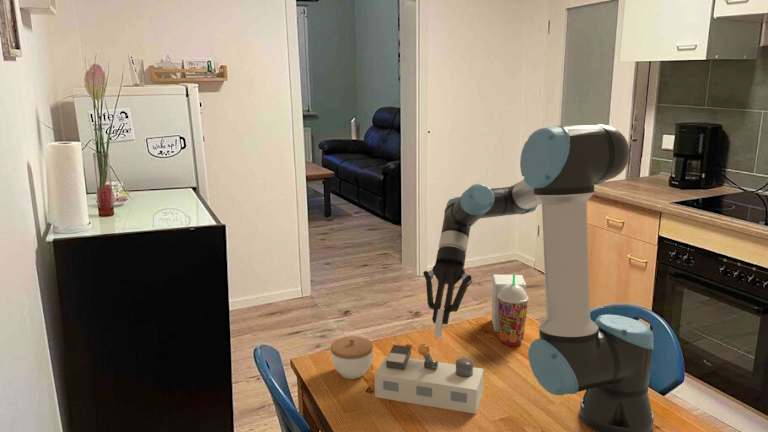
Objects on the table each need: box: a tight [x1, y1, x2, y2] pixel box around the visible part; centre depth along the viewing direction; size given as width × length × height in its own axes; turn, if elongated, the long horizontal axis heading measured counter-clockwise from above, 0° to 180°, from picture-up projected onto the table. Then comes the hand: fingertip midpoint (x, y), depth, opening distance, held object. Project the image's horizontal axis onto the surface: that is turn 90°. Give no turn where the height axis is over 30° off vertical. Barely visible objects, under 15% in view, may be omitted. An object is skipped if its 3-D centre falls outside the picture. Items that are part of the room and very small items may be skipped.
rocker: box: [386, 344, 412, 370], centre depth 143 cm, size 4×6×2 cm
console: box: [374, 354, 484, 415], centre depth 140 cm, size 24×10×6 cm, turn 72°
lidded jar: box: [330, 335, 374, 380], centre depth 150 cm, size 11×11×9 cm
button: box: [455, 357, 474, 377], centre depth 138 cm, size 4×4×3 cm
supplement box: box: [491, 274, 527, 332], centre depth 176 cm, size 9×9×15 cm
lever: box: [417, 343, 439, 369], centre depth 136 cm, size 3×3×13 cm
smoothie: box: [498, 274, 529, 347], centre depth 165 cm, size 8×8×20 cm
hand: (437, 335), depth 146 cm, fingers closed
